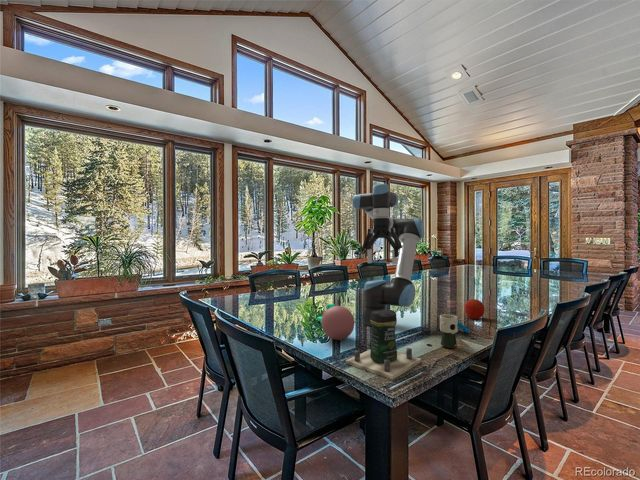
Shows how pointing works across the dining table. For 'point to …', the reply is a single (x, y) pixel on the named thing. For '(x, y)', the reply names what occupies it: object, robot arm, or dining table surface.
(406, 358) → the locator plate
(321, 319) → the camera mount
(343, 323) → the pink ovoid
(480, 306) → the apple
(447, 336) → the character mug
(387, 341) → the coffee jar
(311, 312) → the dining table surface
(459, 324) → the blue irregular piece
